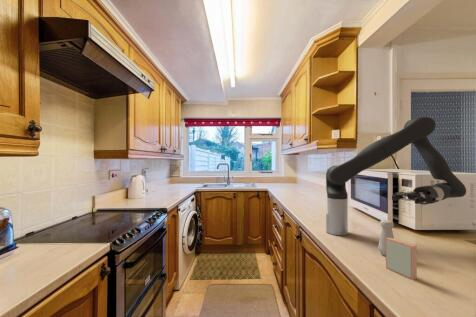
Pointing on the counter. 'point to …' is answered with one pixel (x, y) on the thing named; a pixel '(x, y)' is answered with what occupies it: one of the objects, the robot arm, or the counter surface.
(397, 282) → the counter surface
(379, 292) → the counter surface
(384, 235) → the salt shaker
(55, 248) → the counter surface
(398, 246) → the pink framed panel
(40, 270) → the counter surface
